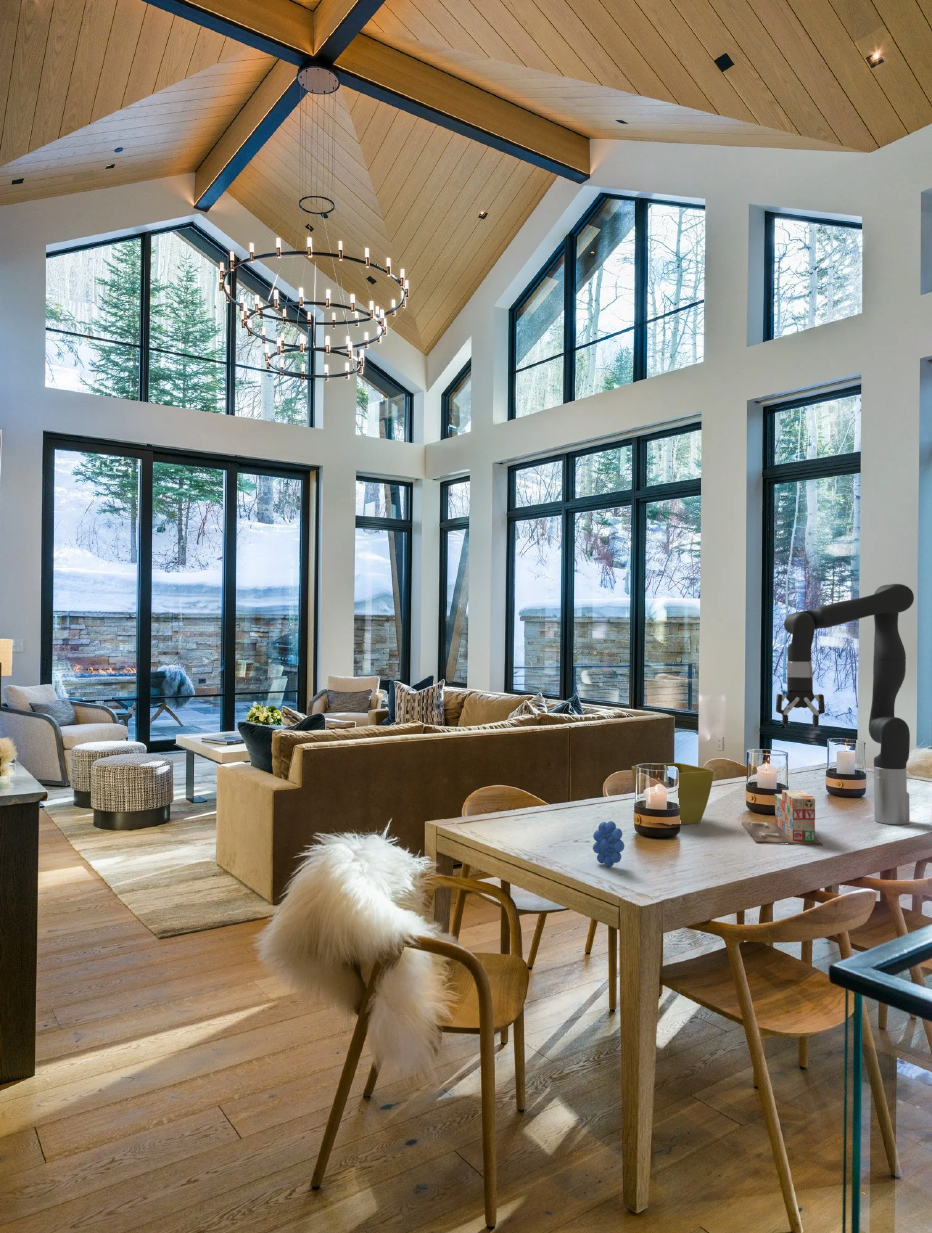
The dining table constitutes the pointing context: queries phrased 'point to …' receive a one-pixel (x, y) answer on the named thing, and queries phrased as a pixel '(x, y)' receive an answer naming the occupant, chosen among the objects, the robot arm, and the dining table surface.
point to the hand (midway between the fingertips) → (800, 726)
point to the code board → (772, 834)
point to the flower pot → (691, 790)
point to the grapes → (608, 843)
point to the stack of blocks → (796, 814)
